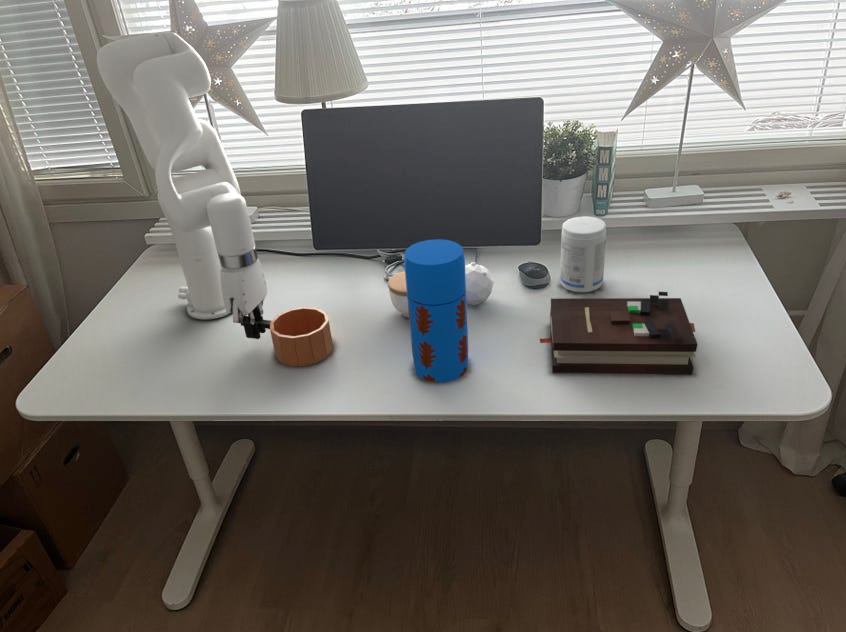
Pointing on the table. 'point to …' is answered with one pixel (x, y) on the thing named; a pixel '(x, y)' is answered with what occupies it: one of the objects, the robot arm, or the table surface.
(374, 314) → the table surface
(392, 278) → the trinket box
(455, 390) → the table surface
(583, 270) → the supplement tub
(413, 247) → the thermos
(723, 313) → the table surface
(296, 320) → the copper saucepan
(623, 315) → the decorative book
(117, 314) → the table surface
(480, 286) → the decorative ball
